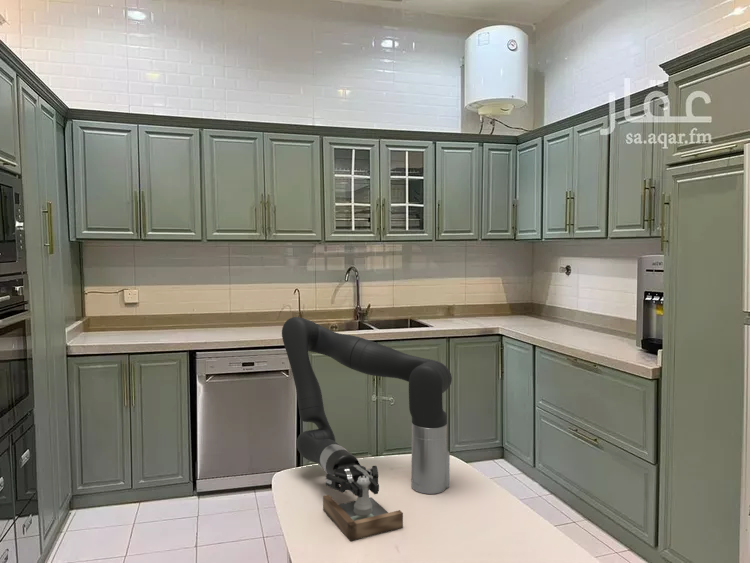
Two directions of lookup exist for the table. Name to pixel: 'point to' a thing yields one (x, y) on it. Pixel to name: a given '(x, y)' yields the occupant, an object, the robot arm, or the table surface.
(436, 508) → the table surface
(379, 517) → the corner arena
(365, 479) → the rook chess piece
